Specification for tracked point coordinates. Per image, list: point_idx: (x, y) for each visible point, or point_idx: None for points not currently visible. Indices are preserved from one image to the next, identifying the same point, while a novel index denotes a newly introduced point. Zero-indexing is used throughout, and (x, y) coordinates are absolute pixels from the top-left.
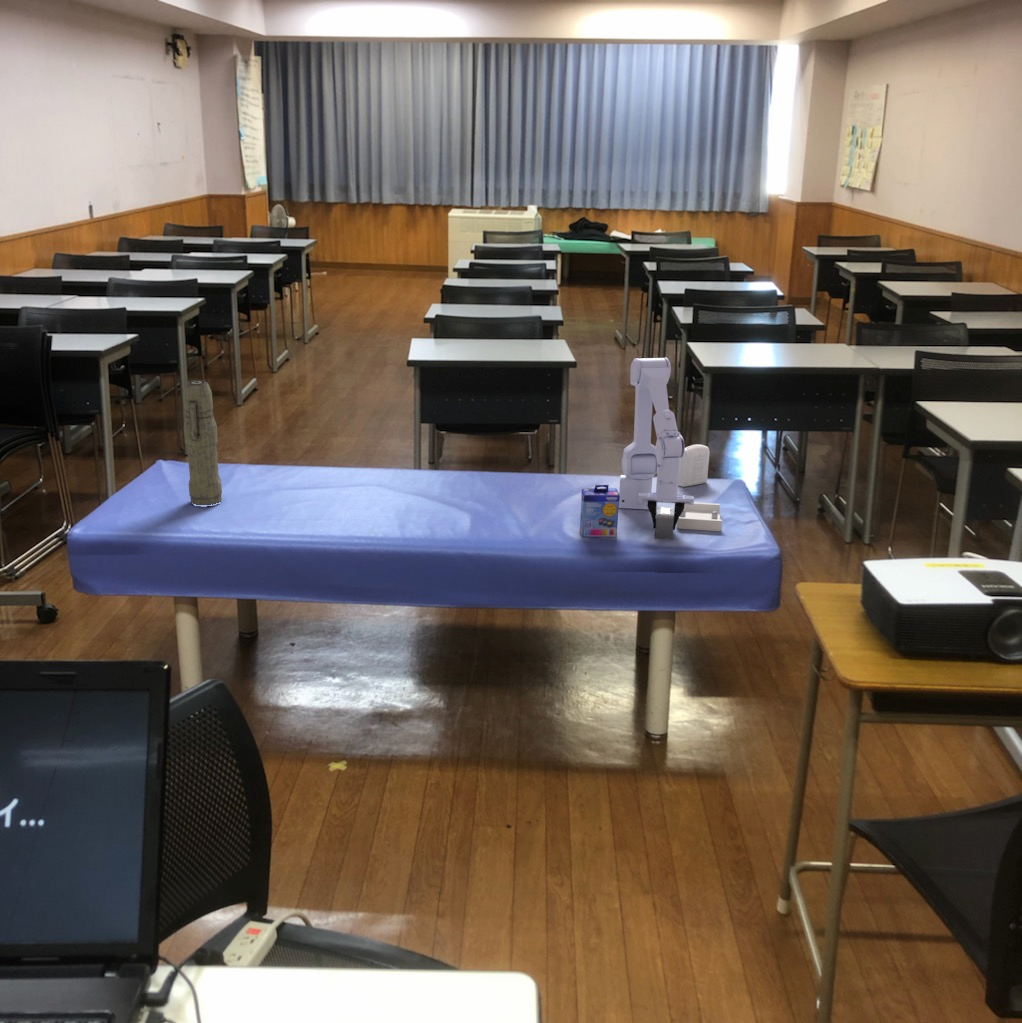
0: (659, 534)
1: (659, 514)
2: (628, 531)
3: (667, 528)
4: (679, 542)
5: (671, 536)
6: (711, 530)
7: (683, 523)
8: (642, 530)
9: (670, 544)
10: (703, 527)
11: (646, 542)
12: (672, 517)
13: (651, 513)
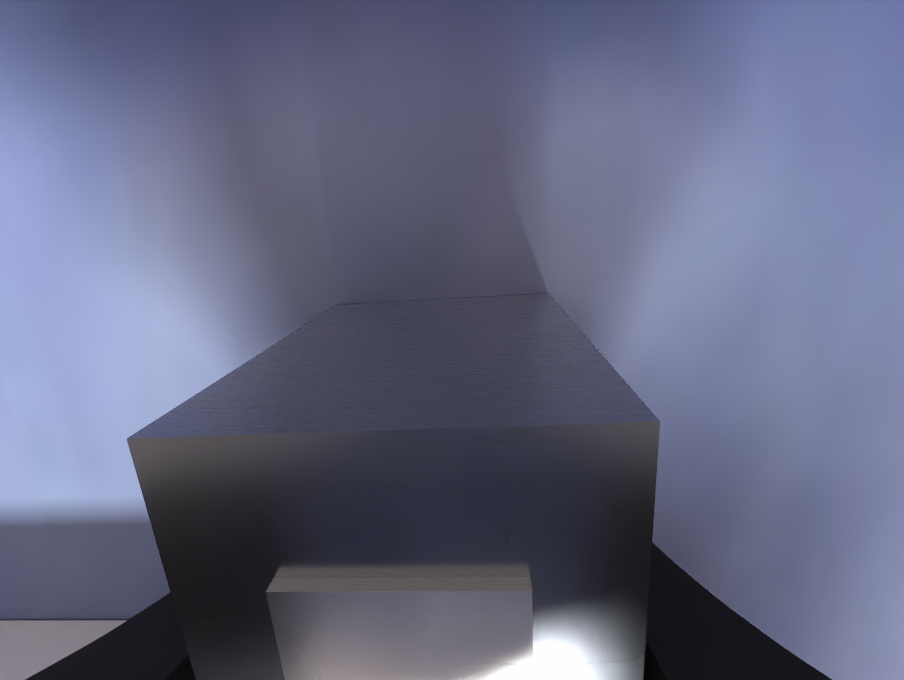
0: (499, 307)
1: (567, 646)
2: (883, 446)
3: (370, 338)
4: (235, 223)
5: (335, 310)
6: (6, 622)
7: None
8: (700, 507)
9: (334, 114)
10: (56, 645)
11: (670, 101)
12: (182, 504)
13: (804, 674)
